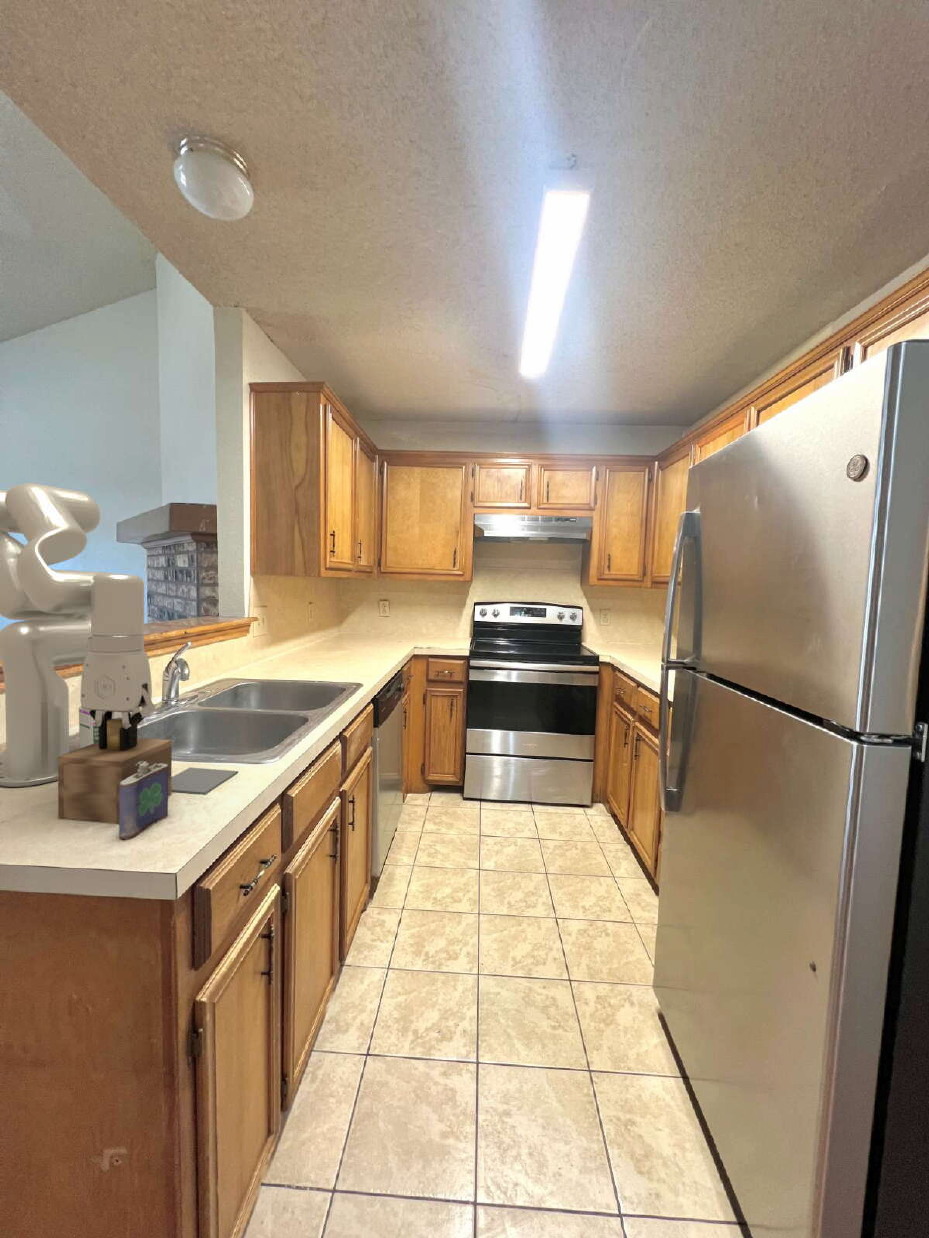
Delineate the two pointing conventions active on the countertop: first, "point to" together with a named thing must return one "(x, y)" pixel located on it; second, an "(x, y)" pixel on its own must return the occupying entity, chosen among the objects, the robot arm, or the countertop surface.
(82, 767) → the brown block with knob
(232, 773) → the mat
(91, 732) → the syrup box
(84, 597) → the robot arm
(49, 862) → the countertop surface
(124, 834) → the flask
